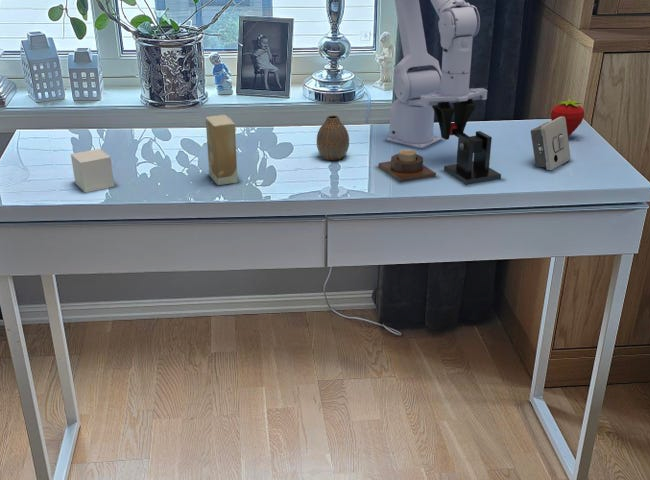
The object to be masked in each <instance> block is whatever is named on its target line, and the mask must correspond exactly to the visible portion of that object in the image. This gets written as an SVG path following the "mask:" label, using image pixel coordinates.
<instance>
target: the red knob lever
mask: <svg viewBox="0 0 650 480" xmlns="http://www.w3.org/2000/svg"><path fill="white" fill-rule="evenodd" d="M459 134H465V135H467V136H468V137H470V138H472V139H474V150H473V154H474V153H478V152H482V148H483V140H482V139H480V138H479V137H477V136H476V135H471V136H469V135H468V134H466V133H465V132H462V131H460V130H459V129H458V126H457V125H456V124H455V123H454V122H451V125H450V136H454V137H457V138H458V137H459Z"/></svg>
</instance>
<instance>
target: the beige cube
mask: <svg viewBox="0 0 650 480" xmlns="http://www.w3.org/2000/svg"><path fill="white" fill-rule="evenodd" d="M70 159H71V165H72V170H73V177H74V183H75V185H77V186H78V188H80V189H81V190H82V191H83V192H84V193H89V192H93V191H97V190H98V191H99V190H104V189H110V188H113V187H114V188H115V180H114V179H115V178H114V173H113V172H114V171H113V165H112V158H111V156H110V155H108V154H107V153H106V152H105V151H104V150H103V149H102V148H96V149H90V150H86V151H85V150H84V151H79V152H74V153H70Z"/></svg>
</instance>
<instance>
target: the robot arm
mask: <svg viewBox="0 0 650 480" xmlns="http://www.w3.org/2000/svg"><path fill="white" fill-rule="evenodd" d="M429 1H430V3H431V5H432V6H433V8H434V11H435V12H436V14H437V16H438V18H439V20H438V25H437V27H438V32H439V36H440V43H439V44H440V47H441V48H442V57H441V66H440V63H439V60H438V59H437V58H436V57H434V56H432V55H431V54H430V53H428V49H427V43H426V42H427V41H426V36H425V30H424V23H423V17H422V11H421V4H420V0H394V5H395V6H394V7H395V12H396V17H397V24H398V31H399V36H400V42H401V49H402V55H403V58H402V59H401V60H400V61H399V62H398V63H397V64H396V66H395V67H394V69H393V77H394V79H393V91H394V94H395V96H396V97H395V98H396V99H395V100H394V101H393V102H392V104H391V105H390V110H389V124H388V125H389V128H388V131H389V132H388V137H386V140H387V141H388V142H392V143H395V144H400V145H404V146H407V147H413V148H417V149H424V148H427V147H428V146H431V145H433V144H435V143H437V142H440V141H441V138H442V139H443V140H445V141H447V140H450V136H451V135H450V125H451V123H452V119H453V117H454V122H453V123H455V124H456V125H457V126H458V129H459V130H460V131H462V132H463V133H465V129H466V126H467V123H468V121H469V119H470V117H471V115H472V114H473V112H474V111H475V109H476V103H475V102H473V101H478V100H481V101H485V100H487V99H488V89H486V88H484V87H478V88H470V80H471V79H470V78H471V69H472V68H471V66H472V53H473V40H474V37H476V36H477V35H478V33H479V32H480V26H481V17H480V13H479V11H478V8H477V7H476V5H473V4H470V2H466V1H465V0H429ZM451 104H453V107H451ZM453 115H454V116H453ZM435 116H436V119H437V121H438V126H439V132H440V137H439V136H434V126H435V125H434V124H435Z"/></svg>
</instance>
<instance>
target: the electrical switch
mask: <svg viewBox="0 0 650 480" xmlns="http://www.w3.org/2000/svg"><path fill="white" fill-rule="evenodd" d="M530 137H531V143H532V150H533V157H534V163H535V168H545V169H546V171H554V170H556V169H557V168H558V167H560V166H562V165H564V164H565V163H567V162H568V161H570V160H571V149H570V142H569V137H568V134H567V126H566V119H565V117H558V118H556V119H555V120H553V121H552V120H550V121H547V122H545V123H543V124H541V125H539V126H537V127H535V128H533V129H531V130H530Z"/></svg>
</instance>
